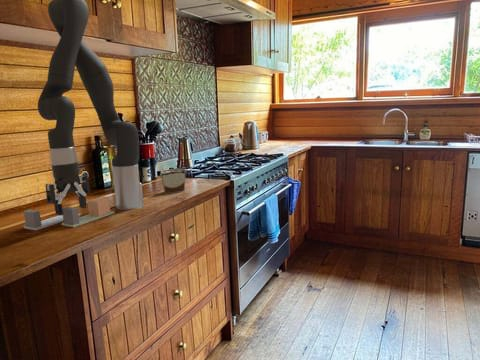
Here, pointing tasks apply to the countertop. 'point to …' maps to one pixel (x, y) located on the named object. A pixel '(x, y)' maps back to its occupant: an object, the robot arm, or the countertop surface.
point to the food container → (173, 180)
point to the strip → (49, 222)
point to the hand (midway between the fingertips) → (72, 211)
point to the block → (98, 206)
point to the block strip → (88, 219)
